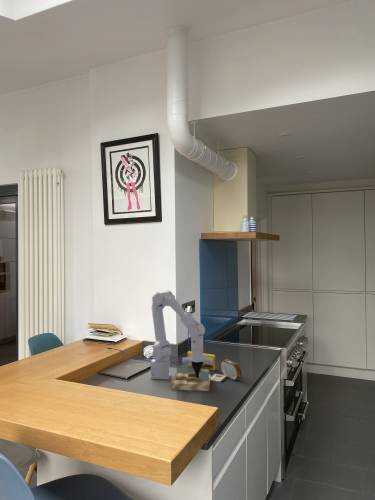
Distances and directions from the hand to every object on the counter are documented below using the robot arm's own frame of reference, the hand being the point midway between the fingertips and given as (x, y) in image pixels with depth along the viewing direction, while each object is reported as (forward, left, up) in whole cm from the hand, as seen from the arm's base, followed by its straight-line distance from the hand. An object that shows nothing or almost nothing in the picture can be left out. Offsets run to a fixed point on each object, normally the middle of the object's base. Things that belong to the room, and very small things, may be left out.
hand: (197, 377), depth 181 cm
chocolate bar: (+11, +14, -4) cm, 18 cm away
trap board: (-3, 0, -4) cm, 5 cm away
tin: (+16, +12, -4) cm, 20 cm away
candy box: (0, +26, -4) cm, 26 cm away
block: (+3, 0, -1) cm, 3 cm away
